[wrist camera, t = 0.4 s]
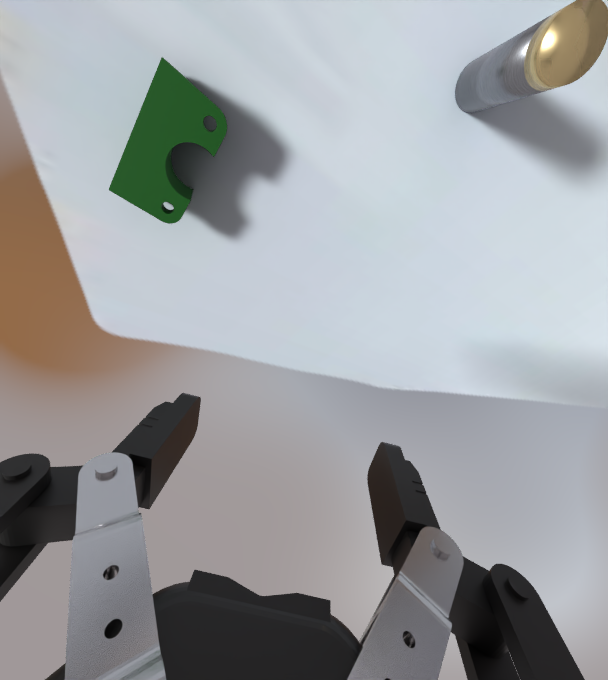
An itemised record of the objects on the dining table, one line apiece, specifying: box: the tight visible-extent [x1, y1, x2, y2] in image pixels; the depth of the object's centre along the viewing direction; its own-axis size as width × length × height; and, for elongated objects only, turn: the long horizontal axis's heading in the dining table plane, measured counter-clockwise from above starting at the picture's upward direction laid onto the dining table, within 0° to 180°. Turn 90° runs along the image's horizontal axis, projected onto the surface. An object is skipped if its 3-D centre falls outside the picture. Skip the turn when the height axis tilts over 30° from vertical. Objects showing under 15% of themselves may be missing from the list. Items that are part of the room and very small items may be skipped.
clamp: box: [109, 58, 227, 223], centre depth 27 cm, size 12×6×9 cm
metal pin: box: [455, 0, 608, 113], centre depth 23 cm, size 4×4×11 cm
